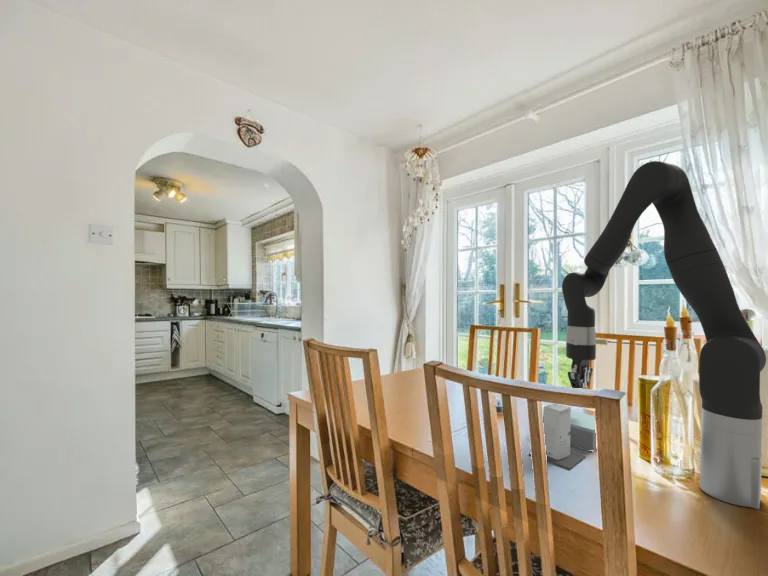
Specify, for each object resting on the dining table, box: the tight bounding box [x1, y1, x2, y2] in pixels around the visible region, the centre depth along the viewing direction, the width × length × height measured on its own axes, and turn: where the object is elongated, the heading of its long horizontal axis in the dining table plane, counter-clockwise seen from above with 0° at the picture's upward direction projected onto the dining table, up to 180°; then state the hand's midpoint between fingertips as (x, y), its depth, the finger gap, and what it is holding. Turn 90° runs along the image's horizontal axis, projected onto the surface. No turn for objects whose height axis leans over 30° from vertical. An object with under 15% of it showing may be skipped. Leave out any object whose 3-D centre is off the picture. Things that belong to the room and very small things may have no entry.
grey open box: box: [570, 427, 597, 451], centre depth 106 cm, size 14×12×5 cm
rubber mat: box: [528, 450, 587, 471], centre depth 94 cm, size 10×10×1 cm
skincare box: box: [543, 403, 572, 460], centre depth 94 cm, size 6×4×12 cm
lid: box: [570, 409, 595, 433], centre depth 106 cm, size 14×12×1 cm
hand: (580, 402), depth 106 cm, fingers closed
